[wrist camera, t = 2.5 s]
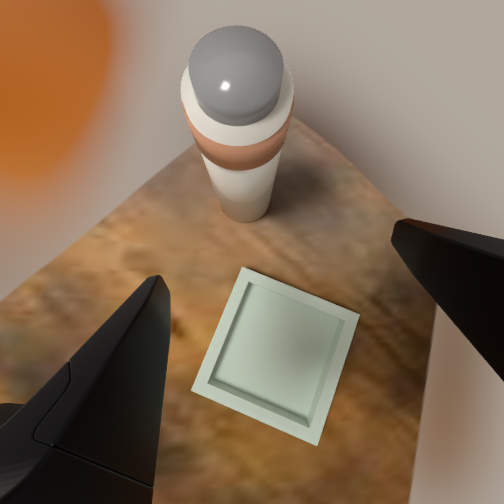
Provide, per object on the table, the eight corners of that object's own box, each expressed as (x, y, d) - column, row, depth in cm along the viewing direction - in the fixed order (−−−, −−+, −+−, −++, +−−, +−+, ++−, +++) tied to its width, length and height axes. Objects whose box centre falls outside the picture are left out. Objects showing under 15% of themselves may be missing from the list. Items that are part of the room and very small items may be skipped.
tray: (351, 312, 21) (359, 314, 20) (311, 433, 20) (317, 446, 18) (242, 268, 22) (242, 266, 20) (195, 382, 20) (191, 390, 19)
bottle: (278, 185, 23) (319, 36, 9) (259, 231, 22) (273, 144, 9) (230, 167, 23) (202, -5, 10) (210, 212, 23) (148, 97, 9)
